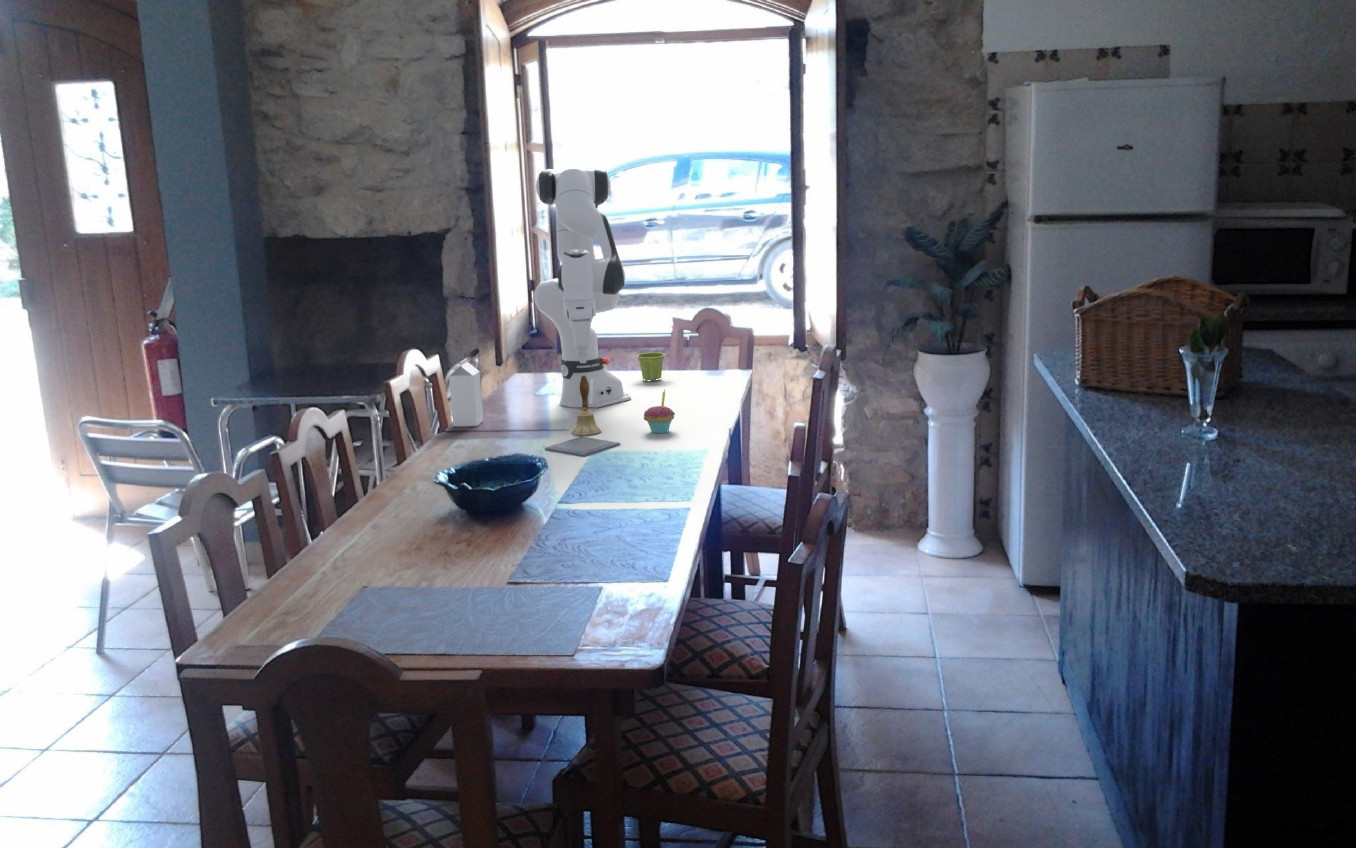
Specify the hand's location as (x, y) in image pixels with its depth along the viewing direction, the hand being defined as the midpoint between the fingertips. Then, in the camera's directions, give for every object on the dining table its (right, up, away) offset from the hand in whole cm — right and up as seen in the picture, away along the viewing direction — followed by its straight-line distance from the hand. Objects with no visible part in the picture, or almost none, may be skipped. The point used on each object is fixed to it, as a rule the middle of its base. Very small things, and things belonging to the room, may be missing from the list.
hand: (582, 360), depth 319 cm
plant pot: (+17, -3, +76) cm, 78 cm away
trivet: (+1, -24, -12) cm, 27 cm away
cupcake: (+21, -20, +2) cm, 29 cm away
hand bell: (+1, -20, +5) cm, 21 cm away
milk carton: (-35, -18, +21) cm, 44 cm away
